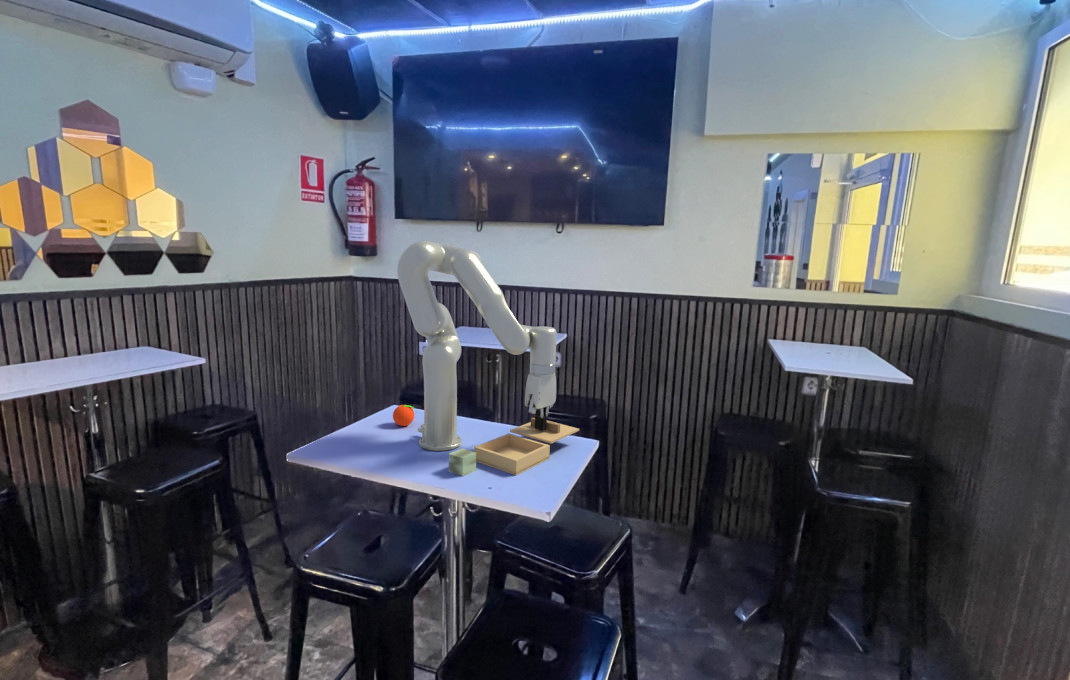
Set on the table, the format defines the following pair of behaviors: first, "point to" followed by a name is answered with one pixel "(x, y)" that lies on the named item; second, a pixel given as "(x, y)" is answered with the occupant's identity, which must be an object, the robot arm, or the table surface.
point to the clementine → (403, 415)
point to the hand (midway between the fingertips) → (540, 428)
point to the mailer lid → (545, 431)
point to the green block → (462, 462)
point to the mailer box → (512, 453)
